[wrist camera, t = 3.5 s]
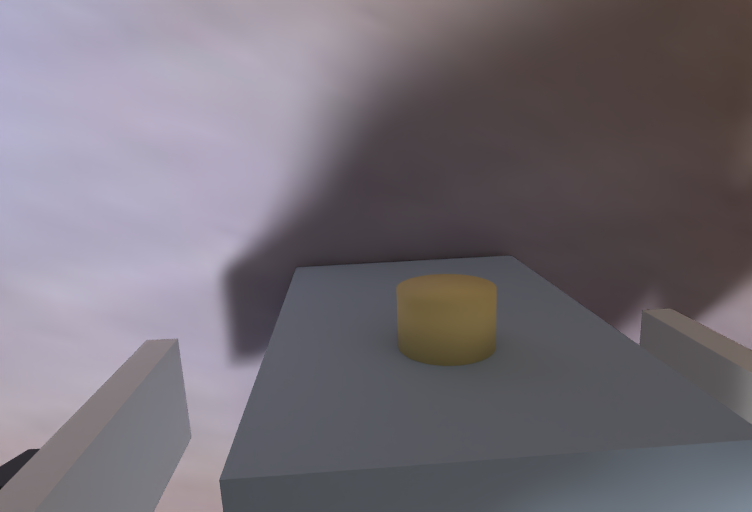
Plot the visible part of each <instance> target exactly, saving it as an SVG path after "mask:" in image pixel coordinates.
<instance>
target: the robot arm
mask: <svg viewBox="0 0 752 512" xmlns="http://www.w3.org/2000/svg"><path fill="white" fill-rule="evenodd" d="M640 346H641V347H642V348H644V349H645V350H647V351H648V352H649V353H651V354H652V355H654V356H655V357H656V358H658V359H659V360H661V361H662V362H664V363H665V364H666V365H668V366H669V367H671V368H672V369H674V370H675V371H676V372H678V373H679V374H681V375H682V376H684V377H685V378H686V379H688V380H689V381H691V382H692V383H693V384H695V385H696V386H698V387H699V388H701V389H702V390H703V391H705V392H706V393H708V394H709V395H711V396H712V397H713V398H715V399H716V400H718V401H719V402H720V403H722V404H723V405H725V406H726V407H728V408H729V409H730V410H732V411H733V412H735V413H736V414H738V415H739V416H740V417H742V418H743V419H745V420H746V421H747V422H749V423H750V424H752V350H750V349H748V348H746V347H744V346H742V345H740V344H738V343H736V342H734V341H733V340H731V339H729V338H727V337H725V336H723V335H721V334H719V333H717V332H715V331H713V330H711V329H709V328H708V327H706V326H704V325H702V324H700V323H698V322H696V321H694V320H692V319H690V318H688V317H686V316H685V315H683V314H681V313H679V312H677V311H675V310H673V309H671V308H669V309H653V310H642V321H641V334H640ZM190 439H191V431H190V423H189V416H188V409H187V401H186V394H185V387H184V380H183V372H182V365H181V358H180V350H179V343H178V339H162V340H146V341H145V342H144V343H143V345H142V346H141V347H140V348H139V349H138V350H137V351H136V352H135V353H134V354H133V355H132V356H131V357H130V358H129V359H128V360H127V361H126V362H125V363H124V364H123V365H122V366H121V367H120V368H119V369H118V370H117V371H116V372H115V373H114V374H113V375H112V376H111V377H110V378H109V379H108V380H107V381H106V382H105V383H104V384H103V385H102V386H101V387H100V388H99V389H98V390H97V392H96V393H95V394H94V395H93V396H92V397H91V398H90V399H89V400H88V401H87V402H86V403H85V404H84V405H83V406H82V407H81V408H80V409H79V410H78V411H77V412H76V413H75V414H74V415H73V416H72V417H71V418H70V419H69V420H68V421H67V422H66V423H65V424H64V425H63V426H62V427H61V428H60V429H59V430H58V431H57V432H56V433H55V434H54V435H53V436H52V438H51V439H50V440H49V441H48V442H47V443H46V444H45V445H44V446H43V447H42V448H41V449H29V450H27V451H25V452H23V453H22V454H20V455H19V456H17V457H15V458H14V459H12V460H10V461H9V462H7V463H5V464H4V465H2V466H1V467H0V512H154V510H155V508H156V506H157V504H158V502H159V500H160V498H161V496H162V494H163V492H164V490H165V488H166V486H167V484H168V482H169V480H170V478H171V477H172V475H173V473H174V471H175V469H176V467H177V465H178V463H179V461H180V459H181V457H182V455H183V453H184V451H185V449H186V447H187V445H188V443H189V441H190Z"/></svg>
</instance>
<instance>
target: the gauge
mask: <svg viewBox="0 0 752 512" xmlns="http://www.w3.org/2000/svg"><path fill="white" fill-rule="evenodd" d="M219 481H220V489H221V497H222V505H223V512H752V424H750V423H749V422H747V421H746V420H745V419H743V418H742V417H740V416H739V415H738V414H736V413H735V412H733V411H732V410H730V409H729V408H728V407H726V406H725V405H723V404H722V403H720V402H719V401H718V400H716V399H715V398H713V397H712V396H711V395H709V394H708V393H706V392H705V391H703V390H702V389H701V388H699V387H698V386H696V385H695V384H693V383H692V382H691V381H689V380H688V379H686V378H685V377H684V376H682V375H681V374H679V373H678V372H676V371H675V370H674V369H672V368H671V367H669V366H668V365H666V364H665V363H664V362H662V361H661V360H659V359H658V358H656V357H655V356H654V355H652V354H651V353H649V352H648V351H647V350H645V349H644V348H642V347H641V346H639V345H638V344H637V343H635V342H634V341H632V340H631V339H629V338H628V337H627V336H625V335H624V334H622V333H621V332H620V331H618V330H617V329H615V328H614V327H612V326H611V325H610V324H608V323H607V322H605V321H604V320H602V319H601V318H600V317H598V316H597V315H595V314H594V313H593V312H591V311H590V310H588V309H587V308H585V307H584V306H583V305H581V304H580V303H578V302H577V301H575V300H574V299H573V298H571V297H570V296H568V295H567V294H566V293H564V292H563V291H561V290H560V289H558V288H557V287H556V286H554V285H553V284H551V283H550V282H548V281H547V280H546V279H544V278H543V277H541V276H540V275H539V274H537V273H536V272H534V271H533V270H531V269H530V268H529V267H527V266H526V265H524V264H523V263H521V262H520V261H519V260H517V259H516V258H514V257H513V256H512V255H510V256H491V257H473V258H455V259H437V260H419V261H401V262H383V263H365V264H347V265H329V266H310V267H296V270H295V273H294V275H293V278H292V281H291V284H290V286H289V289H288V292H287V295H286V297H285V300H284V303H283V306H282V308H281V311H280V314H279V317H278V319H277V322H276V325H275V328H274V331H273V333H272V336H271V339H270V342H269V344H268V347H267V350H266V353H265V355H264V358H263V361H262V364H261V366H260V369H259V372H258V375H257V377H256V380H255V383H254V386H253V388H252V391H251V394H250V397H249V400H248V402H247V405H246V408H245V411H244V413H243V416H242V419H241V422H240V424H239V427H238V430H237V433H236V435H235V438H234V441H233V444H232V446H231V449H230V452H229V455H228V457H227V460H226V463H225V466H224V469H223V471H222V474H221V477H220V480H219Z"/></svg>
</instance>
